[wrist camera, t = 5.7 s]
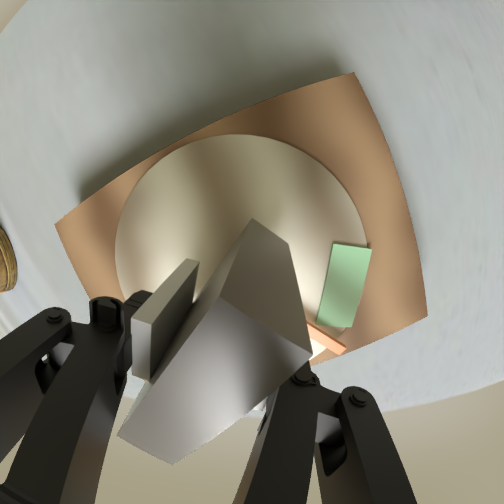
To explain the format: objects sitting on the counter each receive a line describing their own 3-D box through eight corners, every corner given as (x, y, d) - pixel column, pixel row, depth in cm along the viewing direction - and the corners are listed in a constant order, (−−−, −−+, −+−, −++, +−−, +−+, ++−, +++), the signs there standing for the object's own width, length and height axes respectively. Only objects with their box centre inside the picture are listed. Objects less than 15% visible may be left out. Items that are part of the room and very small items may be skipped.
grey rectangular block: (253, 214, 16) (218, 296, 5) (376, 305, 17) (453, 425, 6) (188, 308, 18) (116, 435, 7) (305, 377, 19) (319, 505, 8)
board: (339, 89, 17) (355, 70, 13) (407, 294, 21) (429, 318, 17) (82, 215, 21) (51, 225, 17) (172, 374, 25) (159, 403, 21)
